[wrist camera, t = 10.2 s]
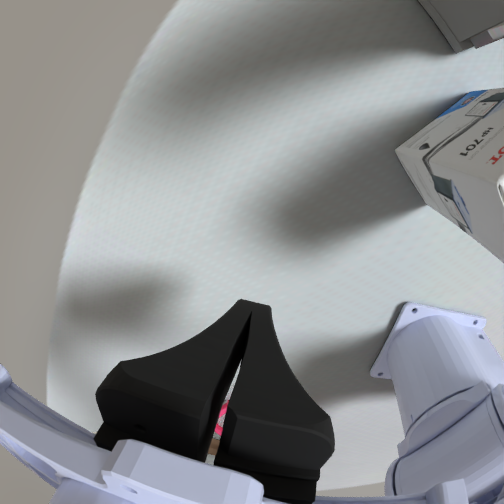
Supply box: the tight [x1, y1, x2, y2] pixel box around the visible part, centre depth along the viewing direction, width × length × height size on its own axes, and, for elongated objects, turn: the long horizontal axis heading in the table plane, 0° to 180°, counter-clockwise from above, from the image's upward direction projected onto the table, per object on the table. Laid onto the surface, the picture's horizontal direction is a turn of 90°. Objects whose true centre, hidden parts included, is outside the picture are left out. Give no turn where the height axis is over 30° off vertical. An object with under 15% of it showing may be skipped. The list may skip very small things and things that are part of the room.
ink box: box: [395, 88, 504, 263], centre depth 11 cm, size 9×5×12 cm, turn 131°
